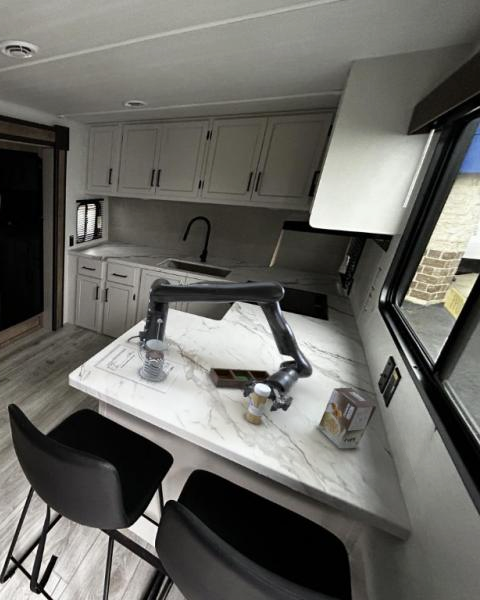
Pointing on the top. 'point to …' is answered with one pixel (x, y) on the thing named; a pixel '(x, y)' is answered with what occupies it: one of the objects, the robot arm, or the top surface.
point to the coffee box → (346, 417)
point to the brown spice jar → (258, 403)
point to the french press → (155, 352)
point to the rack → (235, 377)
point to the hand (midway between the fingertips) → (257, 402)
